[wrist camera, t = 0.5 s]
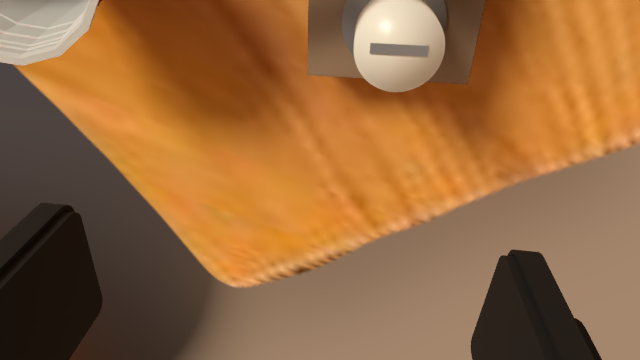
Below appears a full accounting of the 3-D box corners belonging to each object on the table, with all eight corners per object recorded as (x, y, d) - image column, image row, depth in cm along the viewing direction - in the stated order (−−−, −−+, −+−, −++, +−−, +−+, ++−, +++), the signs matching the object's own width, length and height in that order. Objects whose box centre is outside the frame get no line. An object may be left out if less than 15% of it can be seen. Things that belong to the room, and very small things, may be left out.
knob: (357, -13, 24) (357, -1, 21) (443, -9, 24) (453, 4, 21) (352, 70, 26) (350, 90, 24) (430, 74, 26) (437, 95, 23)
